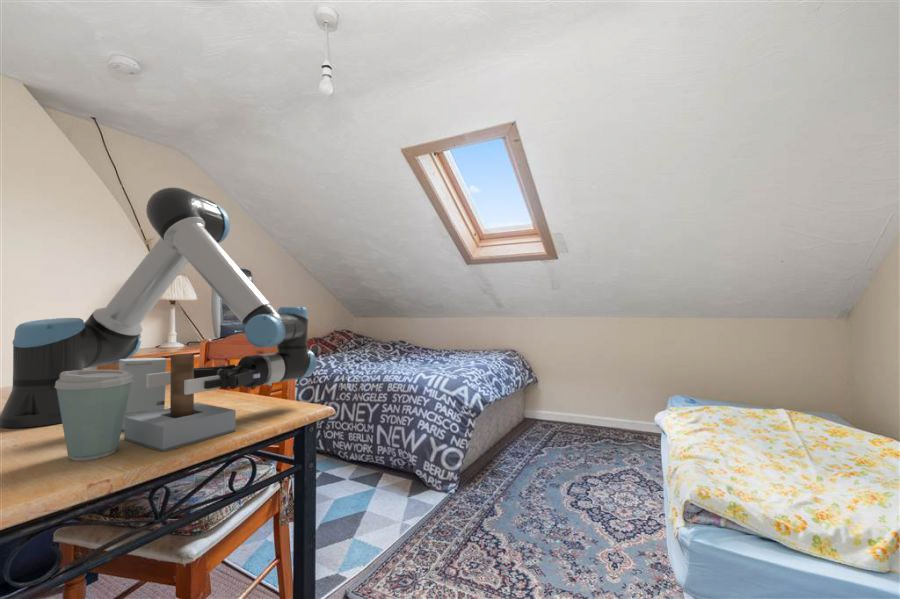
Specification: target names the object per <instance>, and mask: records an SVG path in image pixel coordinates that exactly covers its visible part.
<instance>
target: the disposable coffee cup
mask: <svg viewBox="0 0 900 599" xmlns="http://www.w3.org/2000/svg"><path fill="white" fill-rule="evenodd" d="M132 381H133V376H132V374H129V372H127V371H122V370H119V369H83V370H74V371H65V372H62V373H61V374H60V379H58V380H57V381H56V383H55V388H56V389H57V395H58V401H59V406H60V412H61V418H62V423H61V424H62V429H63V430H62V431H63V434H64V440H65V441H64V442H65V447H66V453H67V455H68V456H69V459H70V460H72V461H75V462H77V461H78V462H79V461H81V462H85V461H92V460H97V459H101V458H105V457H109V456H111V455H112V454H114V453H116V452H117V449H118V447H119V445H120V444H119V443H120V441H121V440H120V439H121V434H122V431H123V430H122V425H123V420H124V415H125V411H126V406H127V401H128V396H129V391H130V386H131V382H132ZM121 430H122V431H121Z"/></svg>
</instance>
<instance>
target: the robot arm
mask: <svg viewBox="0 0 900 599" xmlns="http://www.w3.org/2000/svg"><path fill="white" fill-rule="evenodd" d="M146 204H147V205H146V210H145V211H146V216H147V220H148V221H149V223H150V225H151V226H152V228H153V230H155V232H156V233H157V234H158V236H160V237H159V239H158V240H157V242H156V243H155V244H154V245H153V247H152V248H151V249H150V250H149V252H148V253H146V255H145V257H144V258H143V259H142V260H141V262H140V263H139V265H137V267H136V268H135V269H134V271H133V272H132V273H131V274H130V276H129V277H128V278H127V280H126V281H125V282H124V283H123V285H122V286H121V287H120V288H119V290H118V291H117V292H116V294H115V295H114V296H113V297H112V299H111V300H110V301H109V303H108V304H107V305H106V306H105V307H100V308H96V309H95V310H93V311H92V313H91V315H90V316H89V317H88V318H87V319H86V321H85V322H84V320H83V319H82V318H80V317H79V318H78V317H59V318H47V319H38V320H31V321H25V322H22V323H20V324H19V325H17V326H16V328H15V329H14V338H13V340H12V348H13V349H12V350H13V352H12V353H13V354H12V355H13V356H12V388H11V392H10V394H9V395H8V398H7V400H6V402H5V404H4V406H3V409H2V411H1V413H0V427H1V428H10V429H14V428H15V429H17V428H19V429H21V428H32V427H33V428H34V427H42V426H50V425H55V424H56V425H57V424H62V418H61V412H60V406H59V401H58V395H57V389H56V388H55V383H56V381H57V380H58V379H60V374H61V373H62V372H65V371H74V370H84V369H89V368H96V367H102V366H103V367H104V366H110V365H116V364H119V360H120V359H132V357H134V355H136V353H137V352H138V351H139V349H140V346H141V343H142V341H141V340H140V339H141V338H142V336H141V334H142V332H143V327H142V324H141V323H142V322H143V321H144V319H145V318H146V317H147V315H149V313H150V312H151V311H152V309H153V308H154V306H156V304H157V303H158V302H159V300H160V299H161V298H162V297H163V295H164V294H165V293H166V292H167V290H168V289H169V288H170V286H171V285H172V284H173V283H174V281H175V280H176V279H177V277H178V276H179V275H180V274H181V272H182V271H183V269H185V267H186V266H187V265H188V263H189V264H190V265H191V266H192V267H193V268H194V270H195V271H196V272H197V273H198V274H199V275H200V276H201V278H203V280H204V281H205V282H206V284H208V285H209V286H210V288H211V289H212V290H213V291H214V293H216V295H217V296H218V297H219V298H220V299H221V301H223V303H224V304H225V305H226V306H227V307H228V309H229V310H230V311H231V312H232V314H234V315H235V316H236V317H237V319H238V320H239V321H240V322H241V324H242V325H243V326H244V335H245V338H246V340H247V342H248V343H249V344H250V345H252V346H254V347H257V348H274V347H276V349H277V352H269V353H261V354H255V355H254V354H253V355H245V356H243V357H242V358H240V359H239V361H238V363H237V365H236V364H227V365H225V364H224V365H218V366H217V365H216V366H204V367H202V366H201V367H194V379H189V380H184V394H185V395H188V394H194V395H195V394H198V393H204V392H209V391H216V390H220V388H221V389H222V390H223V389H224V390H225V389H228V388H229V389H230V390H235V389H238V388H241V387H244V388H247V389H249V388H255V387H260V386H264V385H267V386H269V387H271V386H272V385H273V384H275V383H280V382H286V381H291V380H292V381H293V380H300V379H303V378H306V377H309V376H311V375H313V374H314V372H316V371H315V370H316V369H317V363H318V362H317V361H318V360H317V358H316V355H315V353H314V352H313V351H312V350H310V349H308V333H309V332H308V330H309V329H308V328H309V327H308V325H309V315H308V309H307V308H306V307H305V306H280V307H279V308H278V309H277V310H276V309H275V308H274V307H273V305H272V304H271V303H270V301H269V300H268V299H267V298H266V297H265V295H264V294H263V293H261V291H260V290H259V289H258V288H257V287H256V285H255V284H254V283H253V282H252V281H251V280H250V279H249V277H248V276H247V275H246V274H245V273H244V272H243V271H242V269H241V268H240V267H239V265H237V264H236V262H235V261H234V260H233V259H232V258H231V257H230V255H228V253H227V252H226V251H225V249H223V248H222V246H221V245H220V243H222V242H223V241H224V240H225V239H226V238H227V236H228V235H229V234H230V233H229V232H230V229H231V228H230V227H231V224H230V218H229V215H228V213H227V212H226V210H225V209H224V208H222V206H220V205H219V204H217V203H216V202H214V201H212V200H210V199H207V198H205V197H202V196H199V195H197V194H195V193H193V192H191V191H190V190H189V191H188V190H187V189H184V188H180V187H166V188H164V187H163V188H162V189H160V190H158V191H156V192H155V193H153V194H152V195H151V196H150V198H149V199H148V201H147V203H146ZM164 385H166V386H169V385H170V386H171V371H166V372H163V373H155V374H147V383H146V388H151V387H158V386H164Z"/></svg>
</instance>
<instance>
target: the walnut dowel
mask: <svg viewBox="0 0 900 599" xmlns="http://www.w3.org/2000/svg"><path fill="white" fill-rule="evenodd" d="M194 368H195V354H194V353H177V354H171V355H170V372H171V385H170V394H169V396H170V404H169V406H170V407H169V408H170V417H171V418H180V417H184V416H189V415H193V414H194V403H195V402H194V401H195V398H194V397H195V396H194V395H195V393H194V394H188V395H185V394H184V380H189V379H194Z"/></svg>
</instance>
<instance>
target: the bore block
mask: <svg viewBox="0 0 900 599" xmlns="http://www.w3.org/2000/svg"><path fill="white" fill-rule="evenodd" d="M123 431H124V432H123V433H124V434H123V441H127V442H129V441H130V443H132V442H133V444H135V445H139V446H143V447H146V448H149V449H153V450H156V451H158V452H163V453H164V452H167V451H171V450H174V449H177V448H181V447H185V446H189V445H193V444H197V443H199V442H203V441H205V440H209V439H214V438H217V437H221V436H223V435H227V434H231V433H234V432H236V409H232V408H227V407H221V406H217V405H211V404H205V403H200V402H194V414H193V415H189V416H184V417H180V418H171V417H170V407H169V408H164V409H162V410H157V411H152V412H147V413H142V414H137V415H132V416H127V417H125V423H124V430H123Z"/></svg>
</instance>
